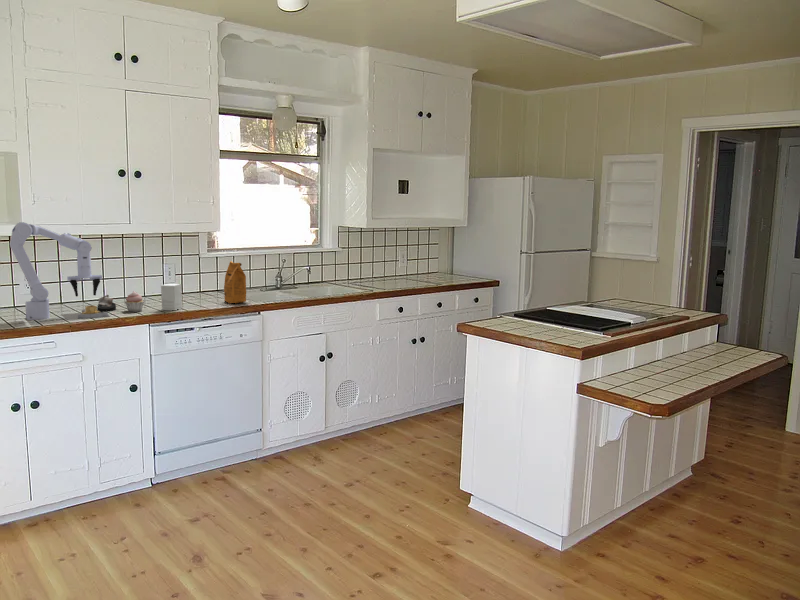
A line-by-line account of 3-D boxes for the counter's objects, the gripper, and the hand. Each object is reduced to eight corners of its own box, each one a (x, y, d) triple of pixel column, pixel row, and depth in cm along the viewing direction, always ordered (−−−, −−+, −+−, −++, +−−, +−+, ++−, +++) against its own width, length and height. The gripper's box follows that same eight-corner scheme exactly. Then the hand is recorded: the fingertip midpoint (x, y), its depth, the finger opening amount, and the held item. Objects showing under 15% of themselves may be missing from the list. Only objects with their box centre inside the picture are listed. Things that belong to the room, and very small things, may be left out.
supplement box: (182, 308, 344) (181, 283, 342) (174, 311, 337) (174, 285, 335) (169, 308, 345) (168, 283, 343) (161, 310, 338) (160, 285, 336)
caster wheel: (107, 318, 326) (91, 314, 329) (124, 310, 336) (108, 306, 339) (106, 306, 323) (90, 301, 327) (123, 298, 333) (107, 294, 336)
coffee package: (238, 300, 375) (238, 260, 372) (248, 303, 366) (247, 262, 362) (221, 301, 369) (220, 261, 366) (231, 304, 359) (230, 263, 356)
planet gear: (84, 317, 308) (83, 308, 307) (81, 315, 314) (80, 305, 313) (101, 316, 312) (101, 306, 311) (98, 314, 318) (97, 304, 317)
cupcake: (132, 309, 340) (131, 289, 338) (148, 310, 338) (147, 290, 336) (120, 312, 331) (119, 291, 329) (137, 313, 329) (136, 292, 327)
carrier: (67, 322, 302) (67, 314, 302) (60, 316, 315) (60, 309, 315) (110, 318, 312) (110, 310, 312) (102, 313, 326) (101, 306, 325)
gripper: (68, 267, 306) (70, 297, 308) (102, 266, 314) (104, 295, 316) (65, 266, 312) (67, 295, 314) (99, 265, 320) (101, 293, 322)
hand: (85, 295), depth 315 cm, fingers open, 7 cm apart
